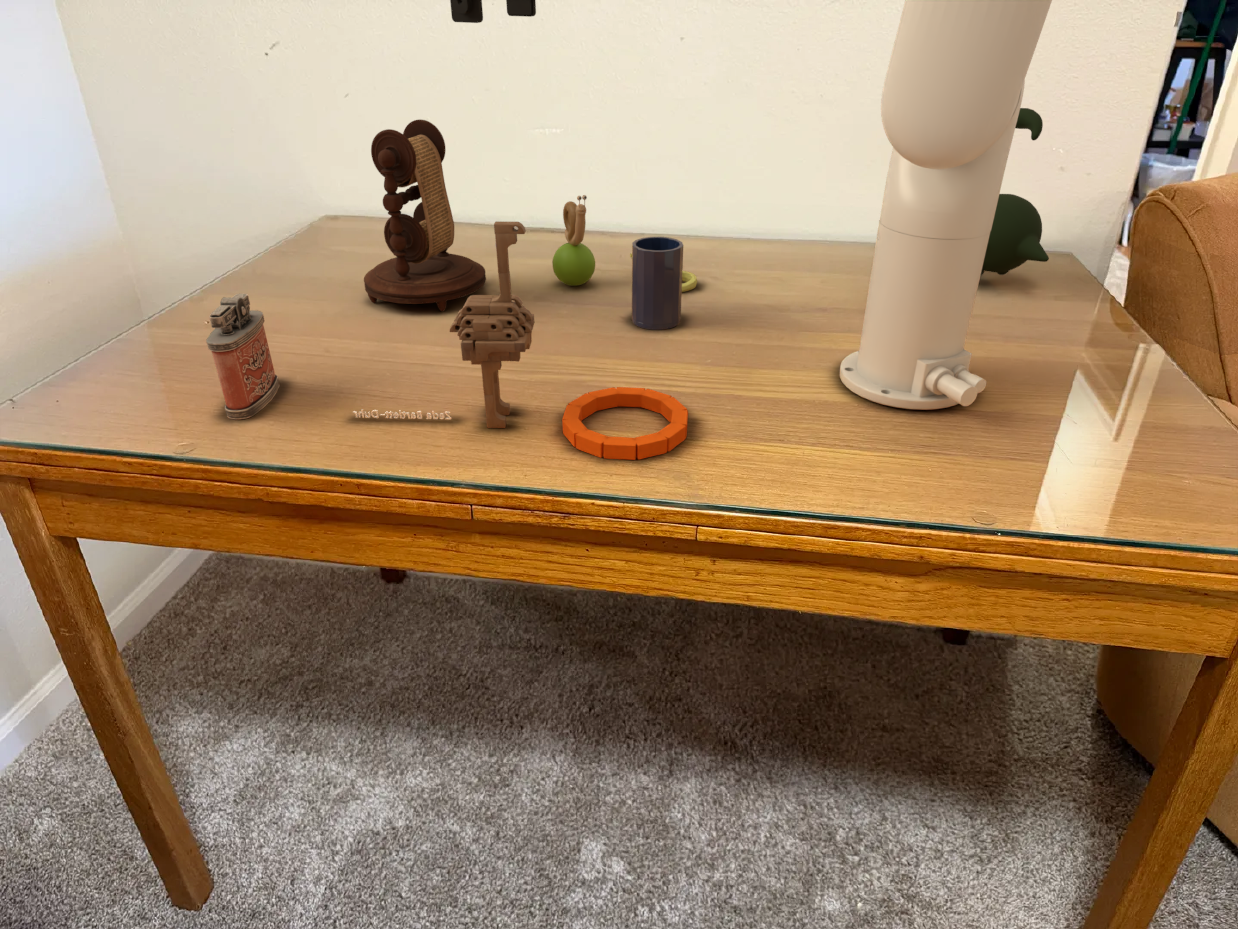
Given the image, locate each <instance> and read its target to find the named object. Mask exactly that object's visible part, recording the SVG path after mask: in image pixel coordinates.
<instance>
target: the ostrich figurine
mask: <svg viewBox="0 0 1238 929" xmlns="http://www.w3.org/2000/svg"><path fill="white" fill-rule="evenodd" d="M515 227H516V228H517V229H516V228H515ZM493 230H494V237H495V250H496V263H497V272H498V275H497V276H498V285H499V286H498V287H499V294H494V295H493V294H492V295H491V294H488V295H487V294H470V295H469V296H468V297H467V299H466V301H465V303H464V304H463V306H462V308H460V309H459V311H458V313H457V314H456V316H455V318H454V320H453V322H452V324H451V326H450V327H449V333H457V337H458V340H459V341H460V350H461V359H462V361H463V362H470V364H471V365H473V366H474V365H479V366H480V367H481V377H482V388H483V389H482V390H483V400H484V410H485V420H486V421H485V422H486V429H506V426H507V416H510V414H511V403H509V402H505V401H504V400H503V399H502V398H501V388H500V376H499V375H500V374H499V371H501V369H502V366H503V364H502V362H520V360H521V353H526V350H530V349H531V345H532V342H533V341H532V340H533V338H532V334H533V329H534V325H535V314H534V313H532V312H531V311H530V310H529V309H528V308H527V307H526V306H524V304H523V301H522V299H521V298H520V296H517V295H516V294H512V284H511V272H510V260H509V259H510V258H509V248H510V246H512V245H516V244H517V243H518V235H525V234H526V227H525V226H524V225H523V223H521V222H520V221H495V222H494V223H493ZM431 412H432V413H431ZM431 412H426V417H425V419H426V420H431V419H433V420H438V419H439V420H452V419H453V418H452V417H451V416H450V414H451V411H444V412H443V413H442V412H441V413H439V414H438V413H437V412H435V411H434V410H432V411H431ZM352 413H353V414H355V418H361V417H362V418H363V419H364V418H366V419H367V418H368V419H370V418H371V417H372V418H374V419H379V416H385V419H398V418H400V419H403V420H404V419H406V415H407V419H413V420H415V419H416V418H417V419H419V420H423V412H422V410H417V411H416V412H411V413H410V412H406V411H402V410H401V409H399V410H398V412H397V411H395V412H393V411H392V410H390V411H388V410H387V411H385V412H384V413H380V414H379V410H378V409H373V410H371V411H368V412H367V411H364V409H361V410H360V411H355V410H353V411H352ZM374 413H375V415H374ZM389 415H390V416H389ZM445 416H447V417H445Z"/></svg>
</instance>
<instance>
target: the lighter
mask: <svg viewBox="0 0 1238 929" xmlns="http://www.w3.org/2000/svg"><path fill="white" fill-rule="evenodd" d="M219 304H220V305H219V306H217V307H216V308H215V309H214V310H213V311H212V312H211V313H210V314H209V316H208V317H209V321H210V322H209V323H210V325H211V328H212V329H213V330H212V331H211V332H210V334H209V335H208V337H207V338H206V340H205V341H206V342H205V343H206V346H207V349H208V350H209V351H210V352H211V355H212V358H213V361H214V365H215V369H216V373H217V376H218V380H219V383H220V388H221V391H222V394H223V399H224V402H225V405H224V411H225V414H226V417H227V418H228V419H231V420H244V419H248V418H251V417H253V416H255V415H256V414H258V413H259V412H261V411H262V410H263V409H264V408H265V407H266V406H267V405H268V404H269V403H270V402H271V401H272V400H273V398H274V397H275V396H276V394H277V393H278V390H279V388H280V386H281V385H280V380H279V376H278V375H277V374H276V372H275V368H274V364H273V359H272V355H271V352H270V347H269V342H268V339H267V335H266V329H265V326H264V324H265V316H264V313H263V312H262V311H261V310H256V309H255V310H253V309H252V310H250V309H251V306H250V305H251V301H250V298H249V294H248V293H245V292H244V293H243V292H241V293H235V294H234V295H233V296H232V297H227V296H226V297H225V296H224V297H222V298H221V299H220V303H219Z"/></svg>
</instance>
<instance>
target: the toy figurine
mask: <svg viewBox="0 0 1238 929" xmlns="http://www.w3.org/2000/svg"><path fill="white" fill-rule="evenodd" d="M1043 126H1044V124H1043V118H1042V117H1041V114H1040V113H1038V112H1037V111H1035V110H1034V109H1031V108H1028V107H1020V111H1019V115H1018V119H1017V123H1016V127H1015V129H1018V130H1029V131H1030V140H1032V141H1037V139H1038V138H1039V137H1040V135H1041V134H1042V132H1043ZM1042 234H1043V221H1042V218H1041V215H1040V213H1039V210H1038V209H1037V208H1036V206H1034V204H1032V202H1031V201H1029V200H1028V199H1026V198H1024V197H1021V196H1019V195H1017V194H1012V193H999V198H998V202H997V207H996V211H995V216H994V220H993V224H992V229H991V231H990V235H989V240H988V244H987V249H986V253H985V258H984V262H983V266H982V271H981V275H980V278H981V277H982V275H983V274H984V273H985V272H989V273H995V274H996V273H997V275H1000V276H1004V275H1007V274H1008V273H1009V272H1010V271H1012V270H1015V269H1016V268H1018V267H1020V266H1022V265H1023V264H1025V263H1026V262H1027V261H1032V262H1042V263H1043V262H1044V263H1045V262H1048V261H1049V255H1048V253H1047V251H1045V249H1044V246H1042V244H1041V241H1042V240H1041V239H1042Z"/></svg>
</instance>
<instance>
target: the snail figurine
mask: <svg viewBox="0 0 1238 929" xmlns="http://www.w3.org/2000/svg"><path fill="white" fill-rule="evenodd" d="M576 199H577V201H578V202H579V203H578V204H577V203H575V202H574V201H567V202H566V203H565V204H564V205H563V209H562V217H563V218H562V219H563V223H564V227H565V229H564V237H565V240H566V242H565V243H563V244H562V245H560V246H559V247H558V248H557V249H556V250H555V252H554V254H553V257H552V263H551V264H552V270H553V273H554V275H555V277H557V279H558V280H559V281H560V283H562V284H565V285H567V286H571V287H577V286H581V285H583V284H585V283H587V282H588V281H590V279H591V278H592V276H593V275H594V273H595V270H596V258H595V255H594V253H593V252H592V250H591V249H590V247H588V246H587V245H585V244H584V243H582V242H584V241H583V240H584V237H585V232H586V223H587V222H586V213H587V207H586V200H587V199H588V197H587V195H586V194H583V195H582V196H581V195H577V197H576ZM581 200H583V202H584V203H581Z"/></svg>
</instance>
